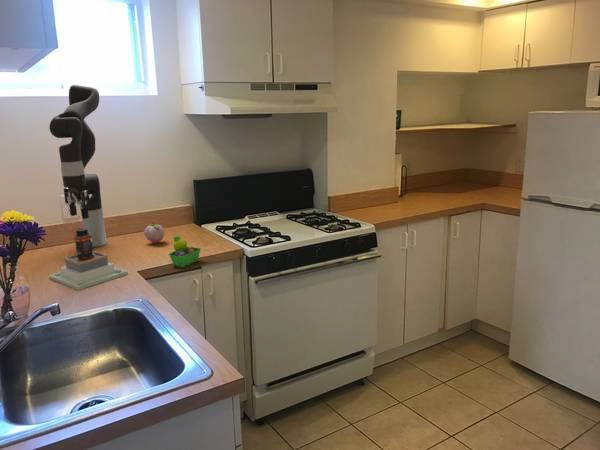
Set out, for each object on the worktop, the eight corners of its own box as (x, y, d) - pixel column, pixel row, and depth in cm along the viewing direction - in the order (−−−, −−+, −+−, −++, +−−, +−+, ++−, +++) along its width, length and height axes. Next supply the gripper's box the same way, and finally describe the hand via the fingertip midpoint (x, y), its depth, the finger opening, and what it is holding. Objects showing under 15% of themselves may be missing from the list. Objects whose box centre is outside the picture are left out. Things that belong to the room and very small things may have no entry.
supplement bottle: (98, 256, 188) (93, 227, 186) (86, 261, 183) (82, 231, 180) (85, 255, 190) (81, 227, 187) (74, 259, 185) (69, 231, 182)
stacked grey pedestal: (49, 278, 187) (45, 258, 185) (98, 263, 202) (95, 245, 200) (78, 290, 174) (74, 269, 172) (128, 273, 189) (125, 254, 187)
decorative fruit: (169, 242, 230) (167, 221, 228) (156, 246, 224) (153, 225, 221) (156, 239, 235) (153, 219, 233) (142, 244, 229) (140, 223, 226)
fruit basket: (182, 268, 193) (179, 241, 190) (166, 265, 198) (163, 238, 195) (202, 260, 202) (200, 234, 199) (187, 257, 207) (184, 231, 204)
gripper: (53, 173, 180) (60, 216, 184) (72, 176, 171) (79, 221, 175) (73, 170, 185) (79, 212, 189) (93, 173, 177) (99, 217, 181)
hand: (79, 216), depth 182 cm, fingers open, 8 cm apart
